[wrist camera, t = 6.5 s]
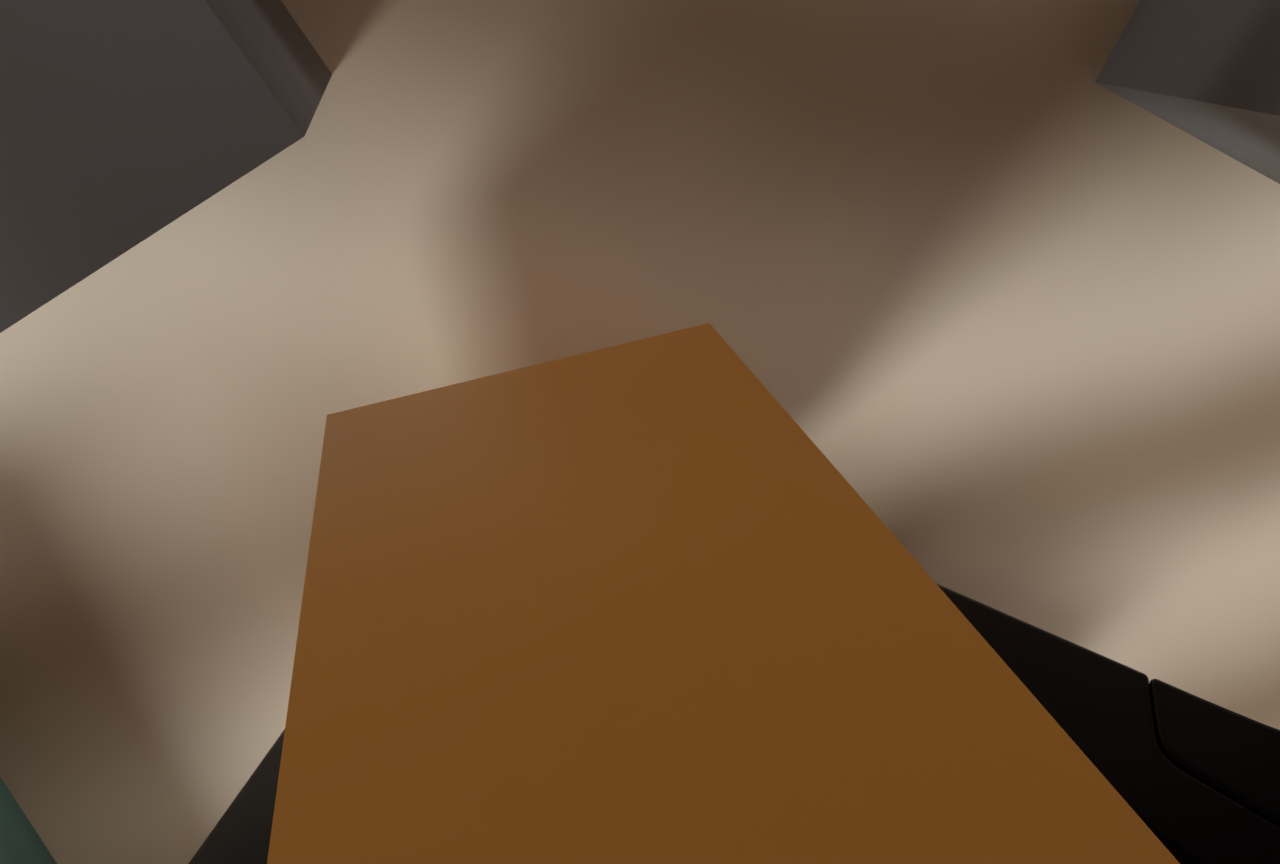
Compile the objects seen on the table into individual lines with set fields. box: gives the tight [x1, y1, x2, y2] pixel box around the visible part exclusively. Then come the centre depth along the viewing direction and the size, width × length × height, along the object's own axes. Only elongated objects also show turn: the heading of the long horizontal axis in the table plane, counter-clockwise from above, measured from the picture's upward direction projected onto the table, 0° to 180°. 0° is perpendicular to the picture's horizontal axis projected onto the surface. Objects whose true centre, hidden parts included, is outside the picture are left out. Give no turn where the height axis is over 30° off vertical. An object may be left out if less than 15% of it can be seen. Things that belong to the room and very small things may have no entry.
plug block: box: [267, 323, 1180, 864], centre depth 7 cm, size 4×4×9 cm
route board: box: [0, 0, 1280, 864], centre depth 12 cm, size 17×30×5 cm, turn 100°
